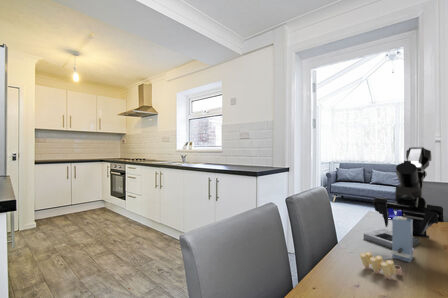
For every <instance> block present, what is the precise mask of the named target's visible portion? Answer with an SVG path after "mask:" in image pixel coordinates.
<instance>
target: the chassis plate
mask: <svg viewBox="0 0 448 298" xmlns="http://www.w3.org/2000/svg"><path fill="white" fill-rule="evenodd" d="M363 240H366V241H369V242H370V243H371V242H372V243H374V244H378V245H379V246H380V245H381V246H382V247H386V248H388V249H391V250H392V230H390V229H386V228H382V229H378V230H373V231H369V232H364V233H363ZM419 244H420V239H419V238H417V237H415V236H413V247H414V246H418V245H419Z"/></svg>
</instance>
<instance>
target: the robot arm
mask: <svg viewBox="0 0 448 298" xmlns="http://www.w3.org/2000/svg"><path fill="white" fill-rule="evenodd" d="M405 155H406V157H405V159H406V160H404V161H403V162H401V163H399V164H398V165H397V166H396V167H395V169H396V170H395V173H396V176H397V180H398V182H399V185H398V186H395V190H394V191H395V192H394V195H395V197H394V200H395V203H394V202H389V201H388V198H383V197H377V196H376V197H374V198H373V200H372V205H373V207H374V210H375V211H376V212H377V213H378V214H379V215H382V217H383V222H384V225H385V227H386V228H388V226H389V219H388V218H389V213H388V211H389V209H394V210H396V211H397V210H399V211H402V217H406V218H410V219H413V237H421V238H430V235H429V234H427V231H428V229H429V228H430V227H431V226H432V225H434V224H435V225H437V224H439V223H442V224H443V223H444V222H445V211H444V207H443V206H442V205H438V204H437V205H436V204H429V203H427V202H426V199H425V198H424V197H423V192H424V180H425V178H426V177H427V171H426V169H427V168H428V167H429V166H430V162H431V161H432V151H431V150H430V149H427V148H425V147H423V146H410V147H408V149H407V150H406V151H405Z"/></svg>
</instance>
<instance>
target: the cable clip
mask: <svg viewBox="0 0 448 298" xmlns="http://www.w3.org/2000/svg"><path fill="white" fill-rule="evenodd" d="M388 213H389V218H391V219H390V220H392V219H393V218H394V217H395V216H401V217H402V210H396V213H395V209H389V211H388Z"/></svg>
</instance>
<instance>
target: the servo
mask: <svg viewBox="0 0 448 298" xmlns="http://www.w3.org/2000/svg"><path fill="white" fill-rule="evenodd" d="M391 220H392V221H391V222H392V225H391V226H392V228H391V229H392V230H391V231H392V240H391V241H392V249H391V251H390V254H392V258H394V259H397V260H401V261H404V262H408V263H411V262H412V259H413V258H414V257H413V256H414V255H413V252H414V246H413V237H414V236H413V219H410V218H406V217H401V216H395V217H394V218H393V219H391Z"/></svg>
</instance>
